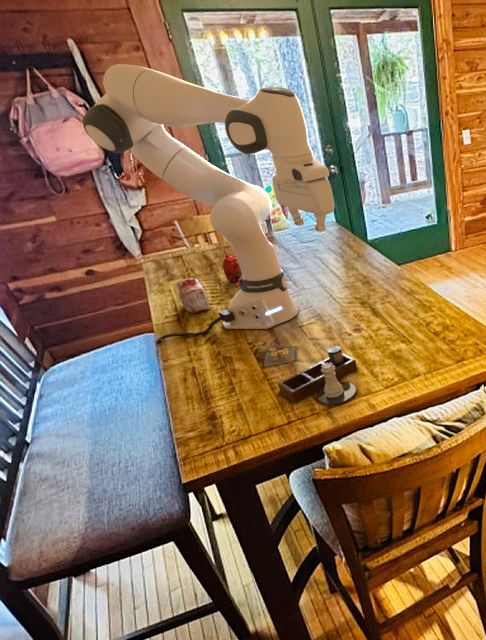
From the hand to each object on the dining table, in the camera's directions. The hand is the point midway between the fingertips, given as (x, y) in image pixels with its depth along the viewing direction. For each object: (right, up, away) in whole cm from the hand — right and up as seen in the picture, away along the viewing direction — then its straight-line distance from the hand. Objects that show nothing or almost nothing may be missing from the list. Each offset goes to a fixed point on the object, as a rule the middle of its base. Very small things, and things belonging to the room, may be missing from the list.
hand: (310, 227), depth 119 cm
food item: (-55, -14, +48) cm, 75 cm away
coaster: (+7, -40, -1) cm, 41 cm away
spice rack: (+1, -37, +4) cm, 38 cm away
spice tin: (+5, -35, +8) cm, 36 cm away
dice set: (-14, -31, +16) cm, 38 cm away
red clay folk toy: (-52, -1, +69) cm, 86 cm away
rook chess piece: (+6, -40, -1) cm, 41 cm away
